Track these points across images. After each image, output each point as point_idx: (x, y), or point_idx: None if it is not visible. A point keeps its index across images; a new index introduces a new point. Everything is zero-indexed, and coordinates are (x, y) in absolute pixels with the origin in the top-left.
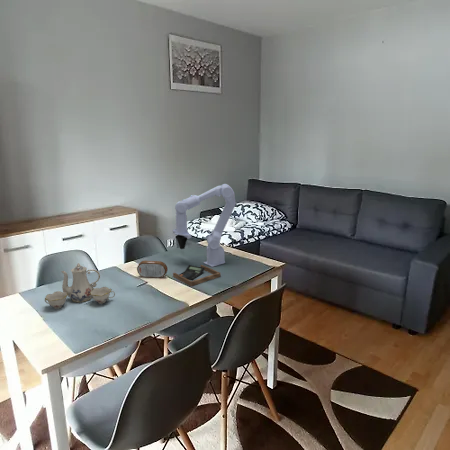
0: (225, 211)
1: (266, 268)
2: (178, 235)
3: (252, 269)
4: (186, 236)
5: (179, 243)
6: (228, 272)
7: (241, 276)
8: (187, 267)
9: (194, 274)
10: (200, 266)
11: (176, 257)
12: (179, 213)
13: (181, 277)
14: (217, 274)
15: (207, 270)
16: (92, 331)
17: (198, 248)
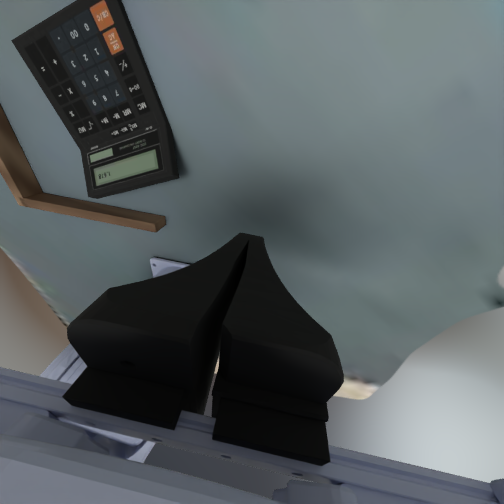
0: None
1: (69, 319)
2: (291, 413)
3: (74, 301)
4: None
5: (246, 261)
6: (75, 249)
7: (24, 245)
8: (168, 153)
9: (88, 121)
10: (158, 220)
11: (376, 258)
12: None
13: None
14: (11, 185)
15: (107, 208)
16: None
17: (346, 359)
